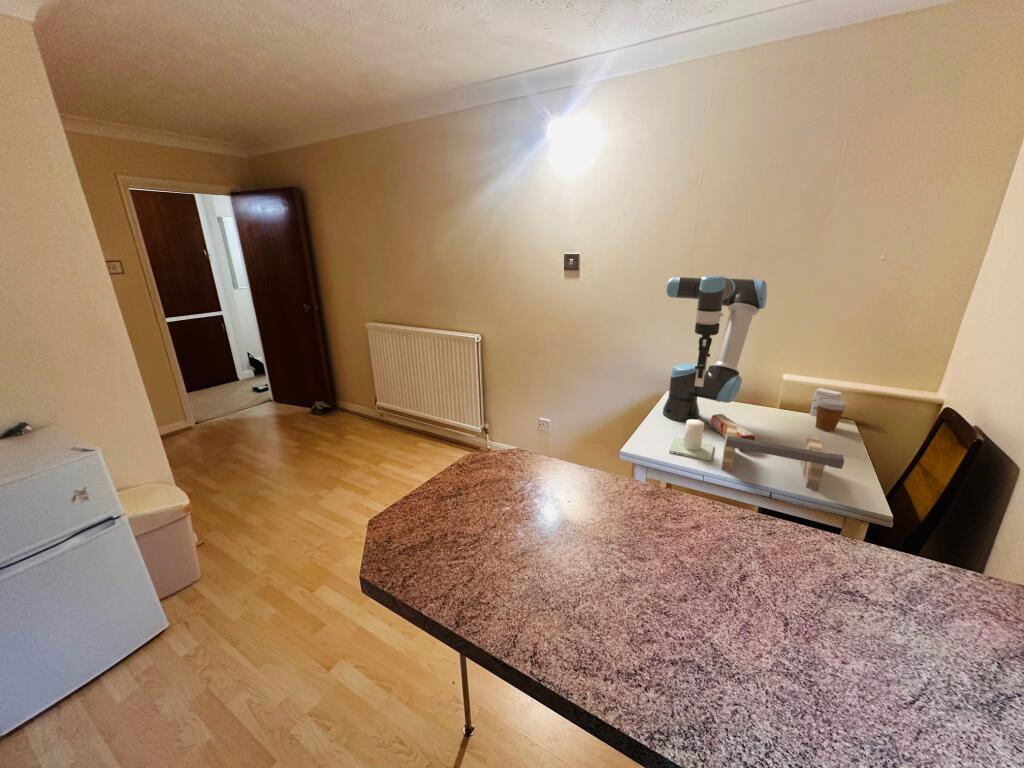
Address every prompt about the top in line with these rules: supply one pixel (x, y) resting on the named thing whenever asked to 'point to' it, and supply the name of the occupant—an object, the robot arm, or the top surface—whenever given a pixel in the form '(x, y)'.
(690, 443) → the cream rounded wedge
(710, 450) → the pad
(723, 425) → the snack package
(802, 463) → the rails
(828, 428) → the disposable coffee cup
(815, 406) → the ink box
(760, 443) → the grey long bar
